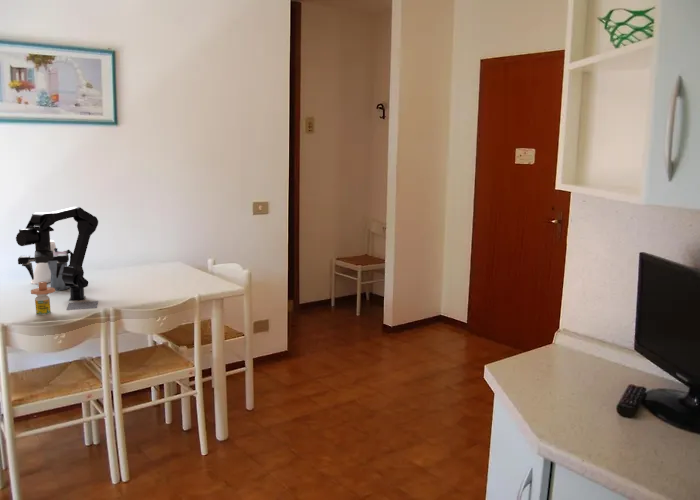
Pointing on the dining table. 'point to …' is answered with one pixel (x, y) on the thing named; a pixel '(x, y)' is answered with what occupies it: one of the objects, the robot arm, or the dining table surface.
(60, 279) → the moka pot
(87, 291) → the dining table surface
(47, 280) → the white bottle
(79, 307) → the mat
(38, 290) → the lid
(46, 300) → the supplement bottle
